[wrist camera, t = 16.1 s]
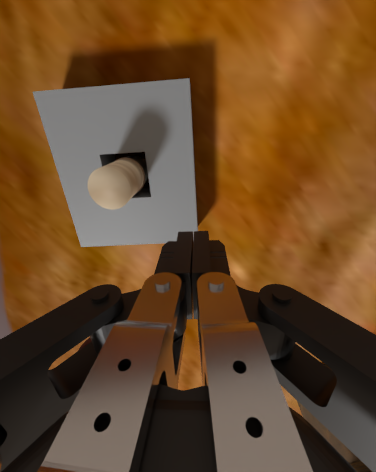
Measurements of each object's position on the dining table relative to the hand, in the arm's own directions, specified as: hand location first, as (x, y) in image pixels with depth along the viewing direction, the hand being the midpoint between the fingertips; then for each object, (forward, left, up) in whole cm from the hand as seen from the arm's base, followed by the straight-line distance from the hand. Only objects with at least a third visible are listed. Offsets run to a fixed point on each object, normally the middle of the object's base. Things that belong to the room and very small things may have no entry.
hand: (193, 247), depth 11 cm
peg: (-1, -8, -21) cm, 23 cm away
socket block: (-1, -8, -21) cm, 23 cm away
